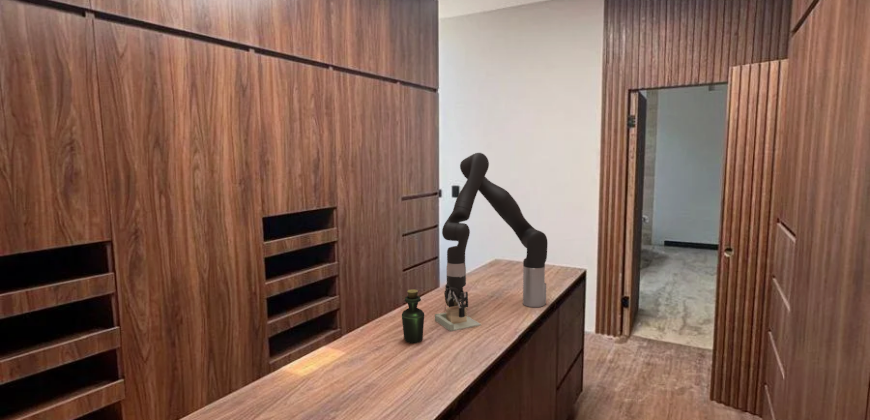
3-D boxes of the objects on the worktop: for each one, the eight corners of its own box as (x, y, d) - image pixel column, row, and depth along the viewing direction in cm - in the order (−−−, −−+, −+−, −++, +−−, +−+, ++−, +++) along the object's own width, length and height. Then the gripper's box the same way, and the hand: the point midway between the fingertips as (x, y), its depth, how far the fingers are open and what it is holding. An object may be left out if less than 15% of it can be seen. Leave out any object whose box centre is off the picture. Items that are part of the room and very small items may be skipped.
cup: (460, 313, 191) (460, 294, 190) (442, 312, 192) (442, 293, 191) (462, 307, 198) (462, 289, 197) (446, 306, 200) (445, 288, 199)
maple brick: (446, 321, 180) (446, 307, 180) (461, 318, 183) (461, 305, 183) (450, 324, 177) (450, 310, 176) (466, 321, 180) (466, 307, 179)
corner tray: (464, 315, 189) (464, 309, 188) (481, 325, 177) (481, 319, 177) (434, 320, 183) (434, 314, 183) (450, 331, 171) (450, 324, 171)
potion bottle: (419, 345, 158) (418, 295, 156) (398, 342, 161) (397, 293, 159) (428, 337, 166) (427, 288, 164) (407, 334, 169) (406, 286, 167)
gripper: (439, 270, 183) (439, 310, 184) (456, 278, 170) (456, 321, 172) (455, 268, 186) (456, 307, 188) (473, 276, 173) (474, 317, 175)
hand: (456, 313), depth 180 cm, fingers open, 8 cm apart
